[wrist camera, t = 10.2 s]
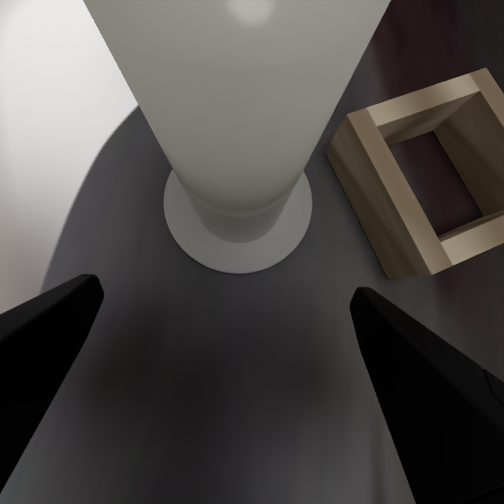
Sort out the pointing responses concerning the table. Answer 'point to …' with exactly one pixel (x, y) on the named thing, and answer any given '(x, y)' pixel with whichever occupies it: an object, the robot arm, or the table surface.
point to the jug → (237, 92)
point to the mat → (237, 254)
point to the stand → (398, 190)
